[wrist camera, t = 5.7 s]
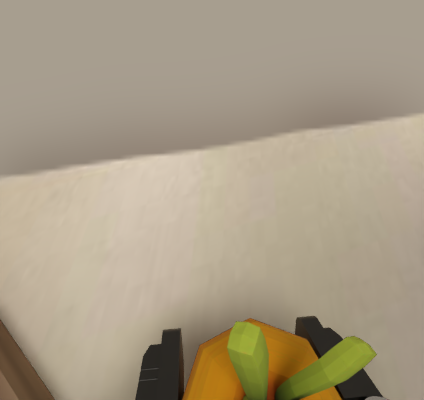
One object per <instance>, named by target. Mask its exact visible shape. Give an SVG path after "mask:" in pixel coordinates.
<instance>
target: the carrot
mask: <svg viewBox="0 0 424 400" xmlns="http://www.w3.org/2000/svg"><path fill="white" fill-rule="evenodd" d="M376 355H377V354H376V353H375V351H374V350H373V349H372V348H371V346H370V345H369V344H367V343H366V342H364V341H363V340H361V339H360V338H357V337H355V336H351V337H346V338H345V339H344V340H342V341H341V342H340V343H338V344H337V345H335V346H334V347H333V348H332V349H330V350H329V351H328V352H327V353H326V354H325V355H323V356H322V357H321V358H320V359H318V357H317V355H316V354H315V352H314V350H313V349H312V347H311V345H310V343H309V342H308V340H307V339H305V338H302V337H300V336H297V335H294V334H292V333H289V332H286V331H283V330H281V329H278V328H275V327H273V326H270V325H267V324H265V323H262V322H259V321H256V320H254V319H251V318H249V319H247V320H245V321H243V322H237V321H236V323H235V325H234V327H232V328H231V329H229V330H227V331H225V332H223V333H221V334H220V335H218V336H216V337H214V338H212V339H210V340H209V341H207V342H205V343H203V344H201V345H200V346H199V349H198V352H197V355H196V358H195V361H194V364H193V367H192V370H191V374H190V377H189V380H188V383H187V386H186V389H185V392H184V395H183V398H182V400H342V399H341V397H340V396H339V394H338V392H337V390H336V389H335V387H334V386H335V385H337V384H339V383H342V382H344V381H346V380H347V379H349V378H350V377H352V376H353V375H354V374H356V373H357V372H358V371H360V370H361V369H362V368H364V367H365V366H366V365H367V364H368V363H369V362H370V361H371V360H372V359H373V358H374V357H375V356H376Z"/></svg>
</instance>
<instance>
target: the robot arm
mask: <svg viewBox="0 0 424 400" xmlns="http://www.w3.org/2000/svg"><path fill="white" fill-rule="evenodd" d="M295 335H297V336H300V337H302V338H305V339H307V340H308V342H309V343H310V345H311V347H312V349H313V350H314V352H315V354H316V355H317V357H318V359H320V358H321V357H322V356H323V355H325V354H326V353H327V352H328V351H329V350H330V349H332V348H333V347H334V346H335V345H337V344H338V343H340V342H341V341H342V340H343V339H342V337H341V336H340V335H338V334H337V333H336V332H335V331H333V330H332V329H331V328H323V327H322V325H321V324H320V322H319V320H318V319H317V318H316V317H315V316H307V317H298V318H297V319H296V329H295ZM334 387H335V389H336V390H337V392H338V394H339V396H340V397H341V399H342V400H388V399H386V398H384V397H383V396H382V395H381V394H380V392H379V391H378V389H377V388H376V386H375V385H374V383H373V382H372V381H371V379H370V378H369V376H368V375H367V373H366V372H365V370H364V369H363V368H362V369H361V370H360V371H358V372H357V373H356V374H354V375H353V376H352V377H350V378H349V379H347V380H346V381H344V382H342V383H339V384H337V385H335V386H334ZM183 395H184V360H183V348H182V337H181V328H178V329H168V330H163V334H162V343H161V344H157V345H150V346H149V348H148V350H147V351H146V353H145V354H144V356H143V360H142V366H141V372H140V377H139V383H138V388H137V394H136V400H182V398H183Z"/></svg>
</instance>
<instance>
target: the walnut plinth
mask: <svg viewBox="0 0 424 400" xmlns="http://www.w3.org/2000/svg"><path fill="white" fill-rule="evenodd" d="M0 400H54V398H53V397H52V395H51V394H50V392H49V391H48V389H47V388H46V386H45V385H44V383H43V382H42V381H41V379H40V378H39V376H38V375H37V373H36V372H35V370H34V369H33V367H32V366H31V364H30V363H29V361H28V360H27V358H26V357H25V356H24V354H23V353H22V351H21V350H20V348H19V347H18V345H17V344H16V342H15V341H14V339H13V338H12V336H11V335H10V334H9V332H8V331H7V329H6V328H5V326H4V325H3V323H2V322H1V320H0Z"/></svg>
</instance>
